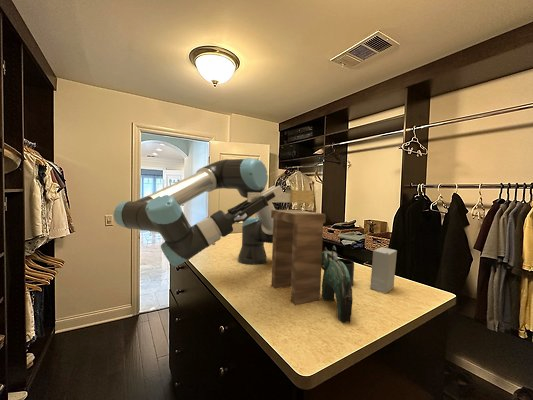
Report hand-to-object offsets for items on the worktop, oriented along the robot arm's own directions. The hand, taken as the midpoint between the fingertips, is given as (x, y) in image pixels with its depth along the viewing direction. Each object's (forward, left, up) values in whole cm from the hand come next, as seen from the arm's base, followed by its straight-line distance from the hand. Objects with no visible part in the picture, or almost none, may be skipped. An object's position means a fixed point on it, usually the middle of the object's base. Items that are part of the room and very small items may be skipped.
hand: (278, 189), depth 82 cm
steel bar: (0, +1, -4) cm, 4 cm away
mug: (-2, +35, -38) cm, 52 cm away
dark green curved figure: (+12, +16, -38) cm, 43 cm away
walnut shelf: (-4, +12, -38) cm, 40 cm away
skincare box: (+11, +45, -38) cm, 60 cm away
